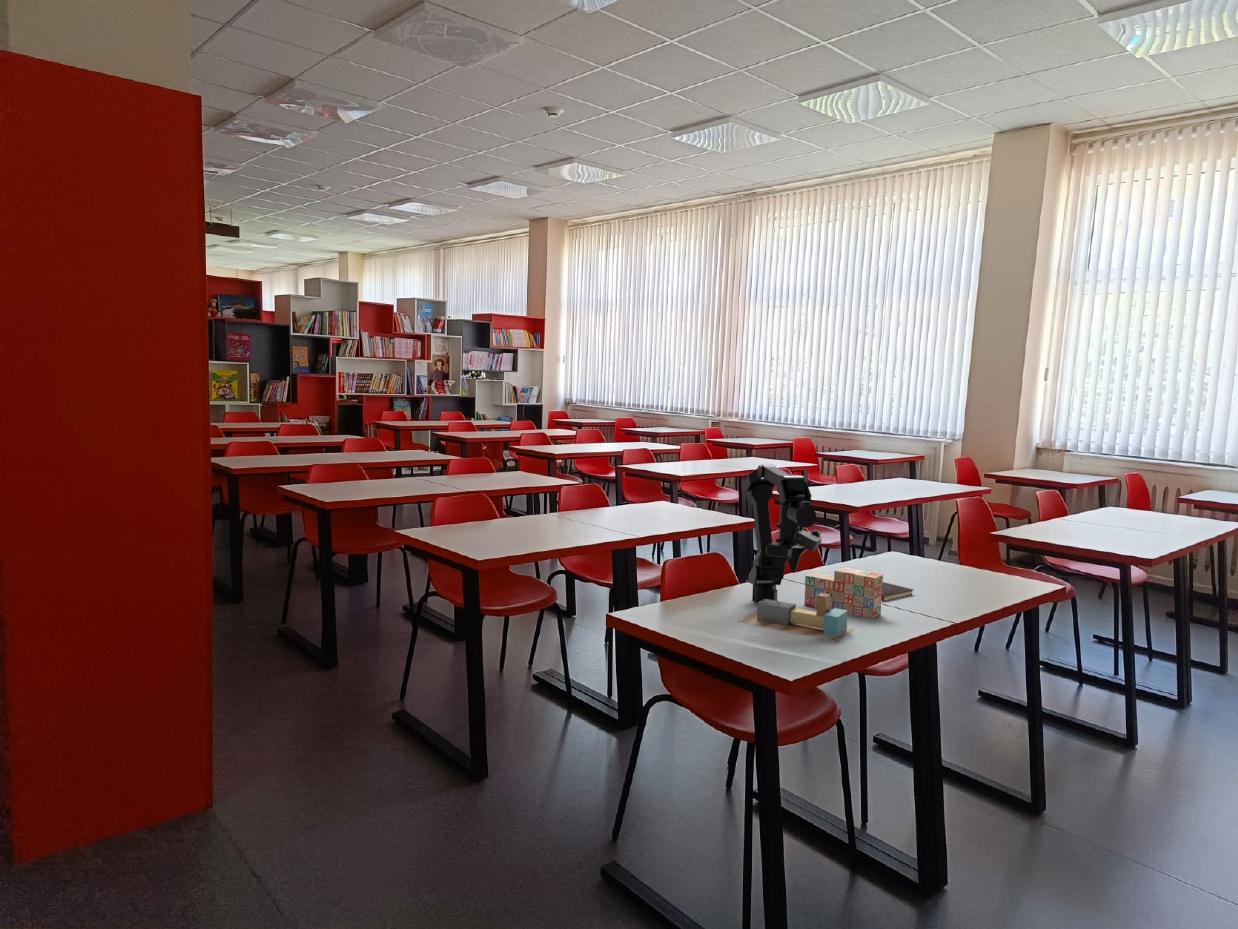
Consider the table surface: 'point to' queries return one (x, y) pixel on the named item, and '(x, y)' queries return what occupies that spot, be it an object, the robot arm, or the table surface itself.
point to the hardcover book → (894, 591)
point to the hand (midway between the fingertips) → (787, 575)
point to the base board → (793, 628)
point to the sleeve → (774, 612)
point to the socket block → (835, 622)
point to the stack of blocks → (847, 591)
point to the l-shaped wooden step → (812, 613)
